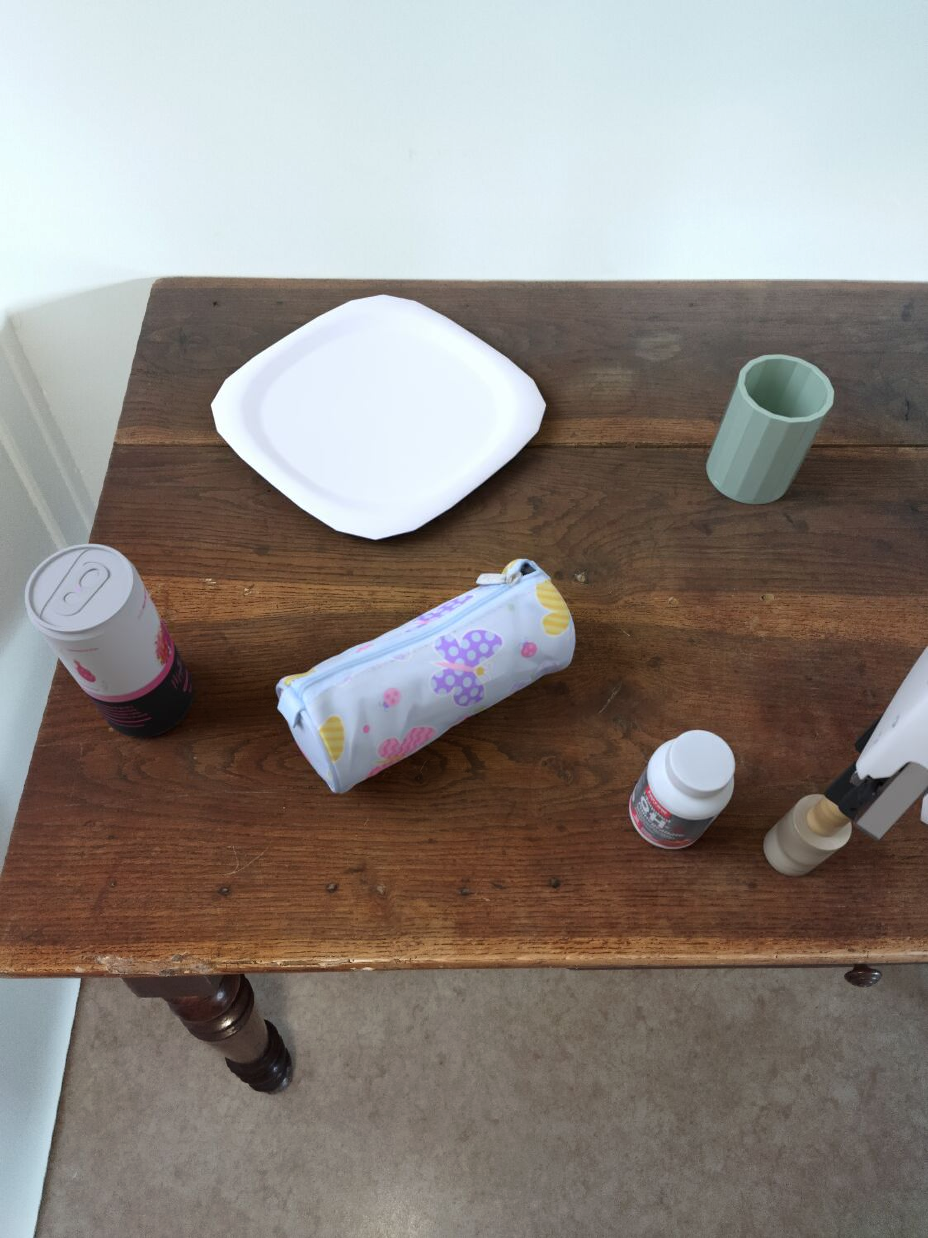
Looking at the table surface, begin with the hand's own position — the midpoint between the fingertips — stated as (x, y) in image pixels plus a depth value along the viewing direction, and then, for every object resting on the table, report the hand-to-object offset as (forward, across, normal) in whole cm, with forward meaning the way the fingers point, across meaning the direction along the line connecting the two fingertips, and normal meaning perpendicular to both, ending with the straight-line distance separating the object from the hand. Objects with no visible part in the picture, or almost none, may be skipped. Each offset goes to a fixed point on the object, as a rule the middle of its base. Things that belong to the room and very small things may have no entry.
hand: (866, 783), depth 49 cm
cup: (+13, +28, +19) cm, 36 cm away
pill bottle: (+13, -3, +8) cm, 15 cm away
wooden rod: (+13, 0, 0) cm, 13 cm away
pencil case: (+13, -7, +26) cm, 30 cm away
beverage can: (+13, -20, +42) cm, 48 cm away
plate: (+13, +12, +48) cm, 51 cm away
